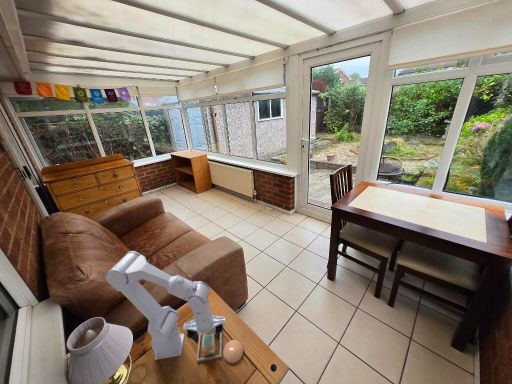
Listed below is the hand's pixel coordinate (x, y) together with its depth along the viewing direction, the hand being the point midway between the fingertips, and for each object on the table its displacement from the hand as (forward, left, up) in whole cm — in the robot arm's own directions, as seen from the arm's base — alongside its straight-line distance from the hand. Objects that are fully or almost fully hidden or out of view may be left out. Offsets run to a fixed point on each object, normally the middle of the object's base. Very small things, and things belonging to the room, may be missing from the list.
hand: (207, 338), depth 76 cm
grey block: (0, +8, -7) cm, 10 cm away
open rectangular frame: (0, +4, -7) cm, 8 cm away
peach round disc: (+9, -2, -7) cm, 11 cm away
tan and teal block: (0, 0, -7) cm, 7 cm away
